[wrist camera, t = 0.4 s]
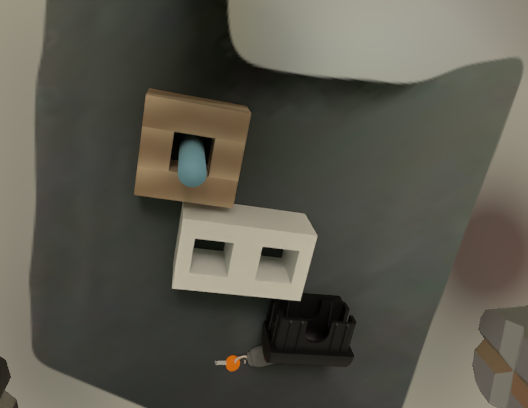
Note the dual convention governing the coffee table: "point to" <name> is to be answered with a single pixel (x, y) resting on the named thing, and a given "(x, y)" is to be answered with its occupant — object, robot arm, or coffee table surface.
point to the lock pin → (191, 161)
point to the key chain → (252, 357)
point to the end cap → (308, 331)
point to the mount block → (196, 123)
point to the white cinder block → (243, 251)
